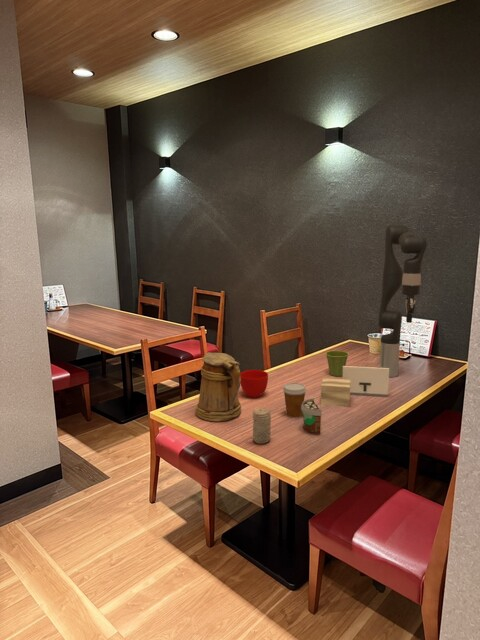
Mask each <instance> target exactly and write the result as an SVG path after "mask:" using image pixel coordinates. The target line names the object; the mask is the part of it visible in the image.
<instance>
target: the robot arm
mask: <svg viewBox="0 0 480 640" xmlns="http://www.w3.org/2000/svg"><path fill="white" fill-rule="evenodd" d="M384 238H385V240H384V263H383V270H382V271H383V272H382V283H381V284H382V286H381V299H380V305H379V312H378V321H377V322H378V327H379V328H380V329H385V330H392V332H390V333H386V334H382V335H381V336H380V346H379V347H380V348H379V349H380V351H379V366H378V368H389V378H395V377H398V376H399V366H400V365H399V364H400V363H399V362H400V346H401V345H400V343H401V330H402V321H403V315H402V314H403V313H402V312H401V311H398V310H389V309H388V307H389V304H390V302H391V301H392V299H393V297H394V296H395V295H396V293H397V292H398V291H399V290H400V289H401V294H402V295H405V296H406V297H405V298H404V302H405V304H404V305H405V306H404V307H405V313H406V319H405V322H406V323H407V324H410V323H412V322H413V314H414V312H415V307H416V302H417V301H416V298H415V296H419V295H420V294H421V282H422V281H421V279H422V277H421V272H422V262H423V259H424V255H425V252H426V249H427V246H428V243H427V239H426V238H425V237H423V236H416V235H414V234H413V233H412V231H411V229H410V227H409V226H407V225H394V224H391V225H387V227H386V230H385V237H384ZM393 245H399V246H400V251H401V252H402V253H403V254H407V255H408V254H412V255H414V254H415V256H414V257H412V258H408V259H405V260H404V262H403V268H402V267H401V265H400V263H399V261H398V259H397V258H396V256H395V253H394V247H393Z"/></svg>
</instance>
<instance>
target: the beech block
mask: <svg viewBox="0 0 480 640" xmlns="http://www.w3.org/2000/svg"><path fill="white" fill-rule="evenodd" d="M350 383H351V380H350V379H343V378H333V377H331V378H330V377H322V381H321V384H320V405H321V406H329V407H330V406H333V407H346V408H350V403H351V395H350Z"/></svg>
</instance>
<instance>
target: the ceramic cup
mask: <svg viewBox="0 0 480 640" xmlns="http://www.w3.org/2000/svg"><path fill="white" fill-rule="evenodd" d="M240 374H241V383H240V387H241V389H242V391H243V393H244V394H245V395H246V396H247V397H249V398H253V399H255V398H258V397H259V398H260V397H261V396H262V395H263V394H264V393H265V391H266V389H267V387H268V382H269V381H268V380H269V373H268V372H267V371H265V370H261V369H260V370H259V369H247V370H244V371H242V372H241V371H240Z"/></svg>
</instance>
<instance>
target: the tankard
mask: <svg viewBox="0 0 480 640" xmlns="http://www.w3.org/2000/svg"><path fill="white" fill-rule="evenodd" d="M202 362H203V365H202V366H201V370H200V375H201V382H200V390H199V397H198V403H197V405H196V408H195V409H196V410H195V415H196V416H197V417H198V418H199V419H202V420H204V421H209V422H215V423H216V422H217V423H218V422H227V421H229V420H233V419H235V418H238V416H240V414H241V412H242V406H241V402H240V401H239V394H238V393H239V390H240V387H241V374H240V373H241V369H240V366H241V364H240V362H238V361H236V360H235V358H234V357H232V355H229V354H228V353H225V352H224V353H223V352H207V353H206V354H205V355H204V356H203V357H202Z"/></svg>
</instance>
